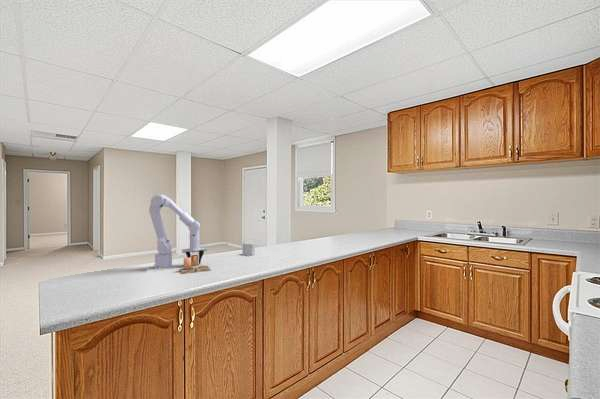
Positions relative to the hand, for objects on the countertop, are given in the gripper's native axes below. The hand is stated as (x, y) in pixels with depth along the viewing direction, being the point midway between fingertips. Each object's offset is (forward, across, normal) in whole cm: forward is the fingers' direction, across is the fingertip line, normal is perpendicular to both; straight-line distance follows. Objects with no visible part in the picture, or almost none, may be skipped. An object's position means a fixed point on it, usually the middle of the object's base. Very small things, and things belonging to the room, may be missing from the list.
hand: (194, 263), depth 172 cm
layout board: (+2, -1, -11) cm, 11 cm away
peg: (+1, -5, -11) cm, 12 cm away
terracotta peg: (+2, 0, 0) cm, 2 cm away
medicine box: (+2, +39, +19) cm, 43 cm away
